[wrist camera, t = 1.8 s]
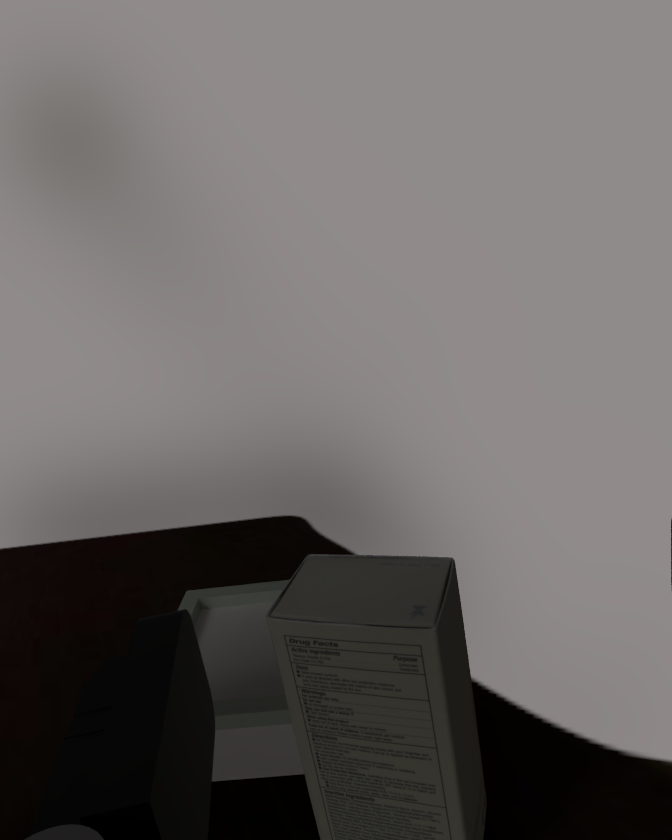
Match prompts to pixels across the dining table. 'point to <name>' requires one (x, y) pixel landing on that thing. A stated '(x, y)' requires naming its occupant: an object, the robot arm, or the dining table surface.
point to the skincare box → (381, 697)
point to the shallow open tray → (244, 681)
